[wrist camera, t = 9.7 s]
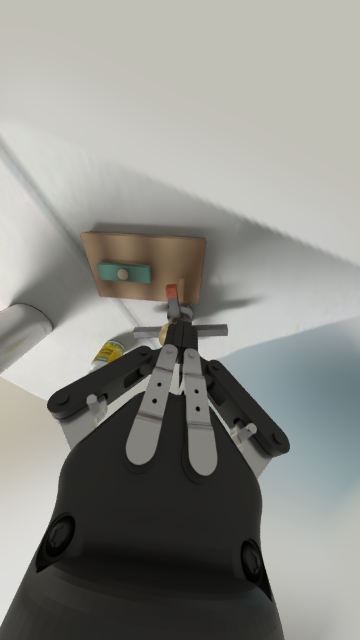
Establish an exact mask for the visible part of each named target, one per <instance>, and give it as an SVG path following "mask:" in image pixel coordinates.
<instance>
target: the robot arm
mask: <svg viewBox="0 0 360 640" xmlns="http://www.w3.org/2000/svg"><path fill="white" fill-rule="evenodd" d="M191 326H192V322H189V321H184V320H179V319H177V322H176V324H174V323H171V324H170V325H169V326H168V329H167V333H166V337H165V342H164V345H163V347H161V348H160V349H156V350H152V349H151V348H150V347H148V346H140V347H138V348H136V349H134V350H132V351H130V352H128V353H126V354H125V355H123V356H121V357H119V358H117V359H115V360H114V361H112V362H110V363H108V364H106V365H104V366H103V367H101V368H99V369H97V370H95V371H93V372H91V373H90V374H88V375H86V376H84V377H82V378H80V379H79V380H77V381H75V382H73V383H71V384H69V385H68V386H66V387H64V388H62V389H60V390H58V391H57V392H55V393H54V394H53V395H52V396H51V397H50V399H49V400H48V404H47V408H48V410H49V411H50V412H51V414H52V416H53V417H54V419H55V420H56V421H57V422H58V423H59V424H60V425H61V427H62V429H63V432H64V434H65V436H66V439H67V441H68V444H69V446H70V449H71V452H70V453H69V455H68V456H67V458H66V460H65V462H64V464H63V466H62V469H61V472H60V476H59V484H58V494H57V500H56V504H55V508H54V511H53V514H52V517H51V520H50V523H49V525H48V528H47V530H46V532H45V534H44V536H43V538H42V540H41V542H40V544H39V546H38V548H37V551H36V552H35V554H34V557H33V558H32V561H31V563H30V565H29V567H28V569H27V571H26V574H25V575H24V578H23V580H22V582H21V584H20V586H19V588H18V590H17V593H16V595H15V597H14V599H13V601H12V603H11V606H10V607H9V610H8V612H7V614H6V616H5V618H4V620H3V622H2V625H1V627H0V640H284V635H283V630H282V625H281V621H280V618H279V613H278V610H277V607H276V603H275V600H274V597H273V594H272V590H271V587H270V583H269V580H268V576H267V573H266V570H265V566H264V562H263V557H262V552H261V542H260V522H261V514H262V495H261V491H260V486H259V483H258V481H257V479H258V477H259V476H260V475H261V473H262V472H263V470H264V469H265V468H266V466H267V465H268V463H269V462H270V461H271V459H272V458H274V457H277V456H279V455H282V454H285V453H287V452H288V451H289V449H290V444H289V440H288V438H287V436H286V435H285V433H284V432H283V431H282V430H281V429H280V428H279V426H277V424H276V423H275V422H274V421H273V420H272V419H271V418H270V417H269V415H268V414H267V413H266V412H265V411H264V410H263V409H262V408H261V407H260V406H259V404H258V403H257V402H256V401H255V400H254V399H253V398H252V397H251V396H250V394H249V393H248V392H247V391H246V390H245V389H244V388H243V387H242V386H241V384H239V382H238V381H237V380H236V379H235V378H234V377H233V376H232V375H231V373H230V372H229V371H228V370H227V369H226V368H225V367H224V366H223V365H222V364H221V363H220V362H219V361H217V360H210V361H207V360H205V359H203V358H202V357H201V356H200V355H199V353H198V332H197V330H196V328H193V327H191ZM51 331H52V324H51V322H50V321H49V319H48V318H47V317H46V316H45V315H44V314H43V313H41V312H40V311H38V310H37V309H35V308H33V307H31V306H28V305H25V304H15V305H13V306H11V307H9V308H6V309H4V310H2V311H0V374H1V373H2V372H4V371H5V370H6V369H7V368H8V367H10V366H11V365H12V364H13V363H14V362H16V361H17V360H18V359H19V358H20V357H22V356H23V355H24V354H25V353H26V352H28V351H29V350H30V349H31V348H33V347H34V346H35V345H36V344H37V343H39V342H40V341H41V340H42V339H43V338H45V337H46V336H47V335H48V334H49V333H51ZM177 359H178V360H177ZM175 363H178V364H180V365H179V370H178V391H177V395H175V394H172V393H171V392H169V389H170V384H171V380H172V376H173V370H174V366H175ZM150 374H152V375H151V378H150V380H149V383H148V386H147V389H146V391H144V392H141V393H139V394H137V395H135V396H134V397H133V398H131V399H130V400H129V401H128V402H127V403H125V404H124V405H123V406H122V407H120V408H119V409H118V410H117V411H116V412H114V413H113V414H112V415H111V416H110V417H108V418H107V419H106V420H105V421H104V422H102V423H101V424H100V425H99V426H98V427H96V426H97V425H98V423H99V422H100V421H101V420H102V419H103V418H104V416H105V415H106V413H107V409H108V407H107V406H108V405H109V404H110V403H112V402H113V401H114V400H116V399H117V398H118V397H120V396H121V395H123V394H124V393H125V392H127V391H128V390H130V389H131V388H132V387H134V386H135V385H136V384H138V383H139V382H141V381H142V380H143V379H145V378H146V377H147V376H148V375H150ZM207 397H208V398H207ZM208 399H209V400H210V401H211V403H212V404H213V406H214V407H215V408H216V410H217V411H218V413H219V414H220V415H221V417H222V418H223V420H224V421H225V423H226V424H227V425H228V427H229V428H230V435H229V434H228V432H227V431H226V429H225V427H224V426H223V424H222V423H221V421H220V420H219V418H218V417H217V415H216V414H215V412H214V411H213V409H212V408H211V407H210V406H209V405H208ZM230 436H231V437H230Z"/></svg>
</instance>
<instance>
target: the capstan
mask: <svg viewBox="0 0 360 640" xmlns="http://www.w3.org/2000/svg"><path fill="white" fill-rule="evenodd" d="M165 290H166V295H167V298H168V303H169V310H168V313H167V318H168V321H169V323H167V324H166V325H164V326H163V327H135V328H134V330H133V332H132V333H133V335H134V338H152V337H159V342H160V344H161V345H162V346H163V345H164V342H165V337H166V333H167V329H168V326H169V325H170V324H171V323H174V324H176V322H177V319H179V320H184V321H189V322H192V319H193V310H192V308H191V306H190V305H188V304H187V303H179V299H178V289H177V284H167V286H166V288H165ZM191 327H193V328H196V330H197V332H198V336H228V327H227V324H221V325H192V326H191Z"/></svg>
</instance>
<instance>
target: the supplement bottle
mask: <svg viewBox="0 0 360 640" xmlns="http://www.w3.org/2000/svg"><path fill="white" fill-rule="evenodd" d="M124 351H125V350H124V347H123V346H122V345H121V344H120V343H118V342H116V341H108V342H106V343H105V344H104V346H103V347H102V349H101V350H100V352H99V353H98V354H97V356H96V357H95V359H94V360H93V361H92V363H91V365H90V370H91V371H90V372H89V373H88V374H90V373H91V372H93V371H95V370H97V369H99V368H101V367H103V366H104V365H106V364H108V363H110V362H112V361H114V360H115V359H117V358H119V357H121V356H123V354H124Z"/></svg>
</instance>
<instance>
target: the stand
mask: <svg viewBox="0 0 360 640" xmlns="http://www.w3.org/2000/svg"><path fill="white" fill-rule="evenodd" d="M80 237H81V240H82V243H83V246H84V249H85V252H86V255H87V258H88V262H89V265H90V268H91V271H92V274H93V277H94V280H95V284H96V287H97V290H98V293H99V296H102V297H114V298H126V299H138V300H151V301H163V302H168V298H167V295H166V290H165V288H166V286H167V284H177V289H178V299H179V303H187V304H198V300H199V292H200V284H201V276H202V268H203V260H204V252H205V244H206V239H205V238H195V237H177V236H159V235H142V234H124V233H106V232H85V233H80Z"/></svg>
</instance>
